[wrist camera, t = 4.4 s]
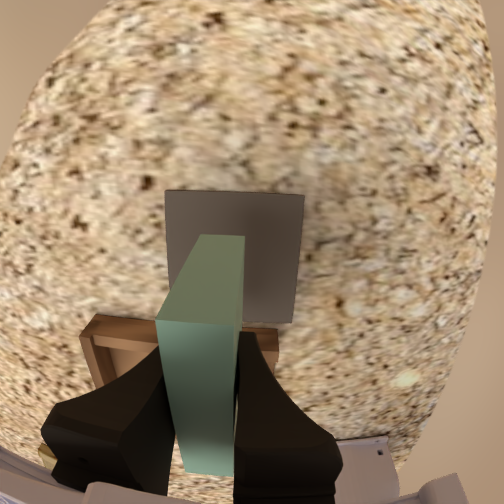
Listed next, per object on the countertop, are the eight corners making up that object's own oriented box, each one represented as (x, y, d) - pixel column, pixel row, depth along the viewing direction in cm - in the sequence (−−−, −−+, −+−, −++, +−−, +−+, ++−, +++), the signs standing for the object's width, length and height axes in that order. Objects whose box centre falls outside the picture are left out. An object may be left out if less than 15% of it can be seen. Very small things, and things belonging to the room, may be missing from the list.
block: (245, 236, 14) (233, 325, 8) (240, 371, 17) (233, 476, 10) (200, 234, 14) (155, 319, 8) (205, 368, 17) (185, 472, 10)
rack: (277, 328, 24) (279, 356, 20) (266, 423, 28) (266, 449, 25) (95, 314, 24) (78, 336, 20) (122, 408, 28) (113, 430, 25)
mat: (304, 195, 20) (304, 196, 20) (291, 321, 23) (291, 323, 23) (165, 190, 20) (164, 191, 20) (173, 314, 23) (172, 316, 23)
